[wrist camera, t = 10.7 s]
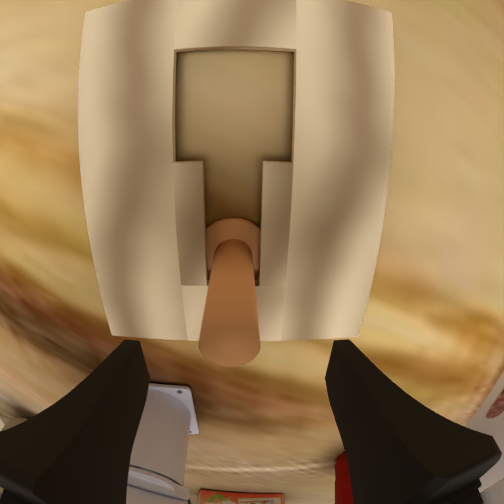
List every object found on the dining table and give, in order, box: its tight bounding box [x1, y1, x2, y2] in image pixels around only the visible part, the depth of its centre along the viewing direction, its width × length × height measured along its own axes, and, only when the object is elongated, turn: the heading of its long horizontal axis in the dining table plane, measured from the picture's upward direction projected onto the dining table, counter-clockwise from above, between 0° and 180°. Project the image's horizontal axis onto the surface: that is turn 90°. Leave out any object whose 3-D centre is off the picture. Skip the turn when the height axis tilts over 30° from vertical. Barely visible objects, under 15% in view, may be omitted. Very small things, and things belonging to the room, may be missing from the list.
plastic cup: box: [335, 452, 353, 504], centre depth 27 cm, size 11×11×12 cm
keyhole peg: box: [199, 217, 261, 367], centre depth 15 cm, size 5×5×9 cm
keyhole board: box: [78, 0, 395, 341], centre depth 16 cm, size 18×22×2 cm
